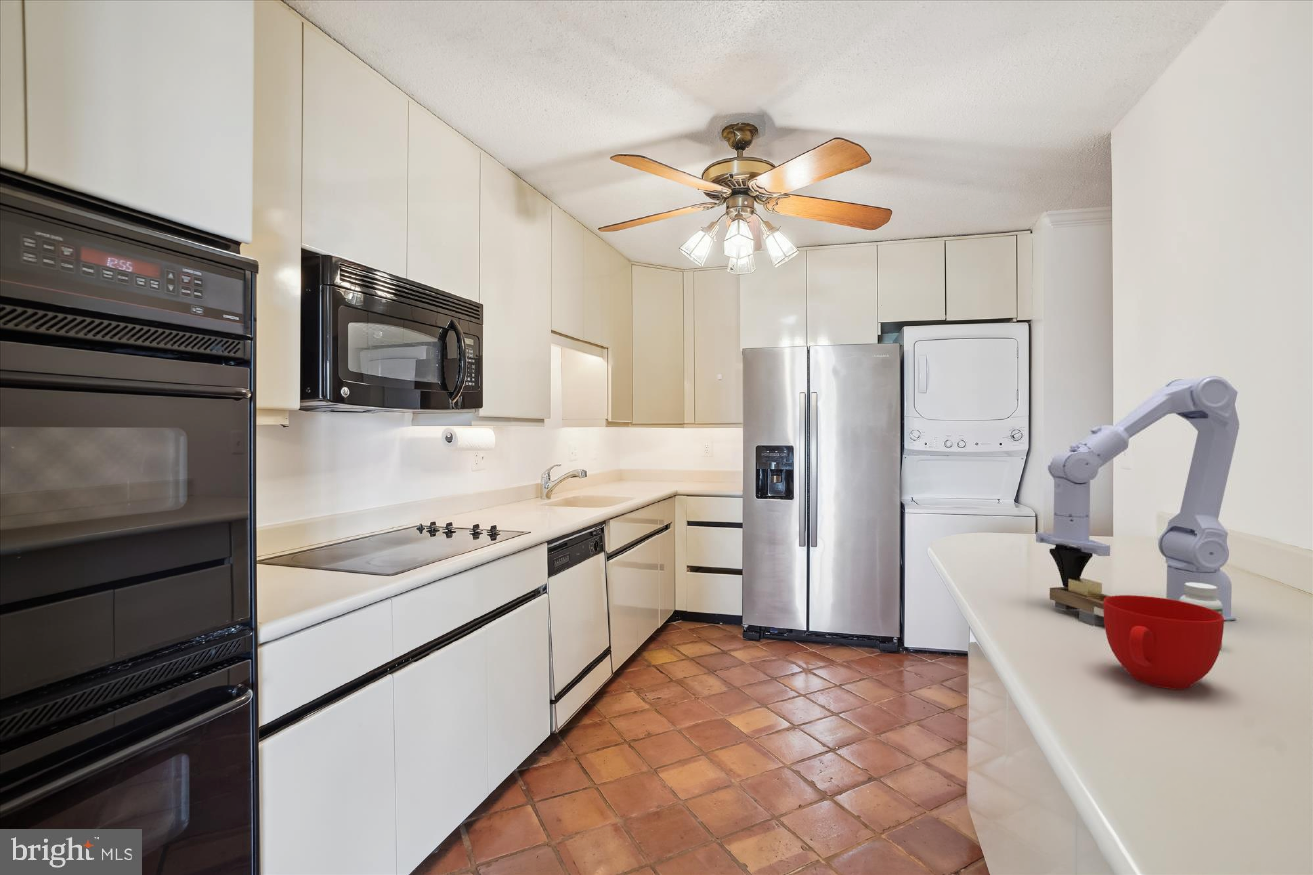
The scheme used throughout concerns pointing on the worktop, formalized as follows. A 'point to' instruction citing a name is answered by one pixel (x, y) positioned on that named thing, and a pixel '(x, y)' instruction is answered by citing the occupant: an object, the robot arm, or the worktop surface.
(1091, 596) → the tan wooden block
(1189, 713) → the worktop surface
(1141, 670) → the ceramic cup
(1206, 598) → the supplement bottle
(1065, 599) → the beam
